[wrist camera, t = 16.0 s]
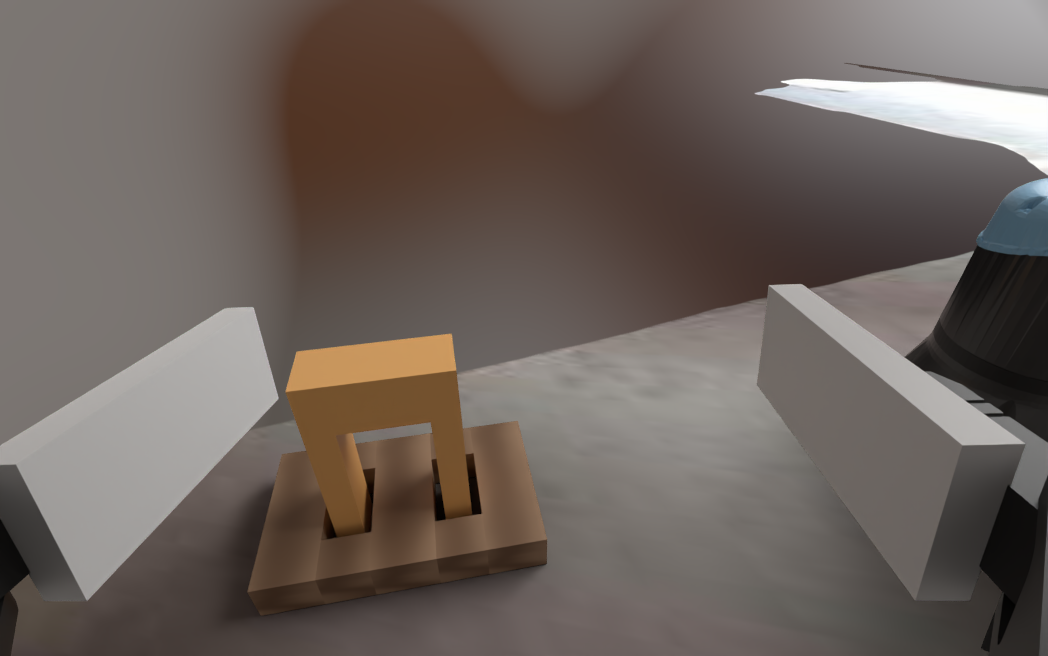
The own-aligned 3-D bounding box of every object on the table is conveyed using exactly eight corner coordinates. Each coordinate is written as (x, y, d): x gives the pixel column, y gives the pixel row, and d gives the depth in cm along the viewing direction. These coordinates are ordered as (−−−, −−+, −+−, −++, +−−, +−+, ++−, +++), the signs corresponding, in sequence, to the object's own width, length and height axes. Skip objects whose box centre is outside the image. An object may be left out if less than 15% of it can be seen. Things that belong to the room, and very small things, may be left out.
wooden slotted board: (518, 444, 49) (517, 421, 47) (546, 563, 39) (547, 539, 37) (291, 478, 46) (282, 454, 44) (260, 615, 36) (247, 592, 34)
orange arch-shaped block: (468, 488, 45) (451, 333, 36) (473, 529, 42) (456, 370, 32) (346, 507, 43) (296, 351, 34) (342, 551, 40) (285, 391, 31)
